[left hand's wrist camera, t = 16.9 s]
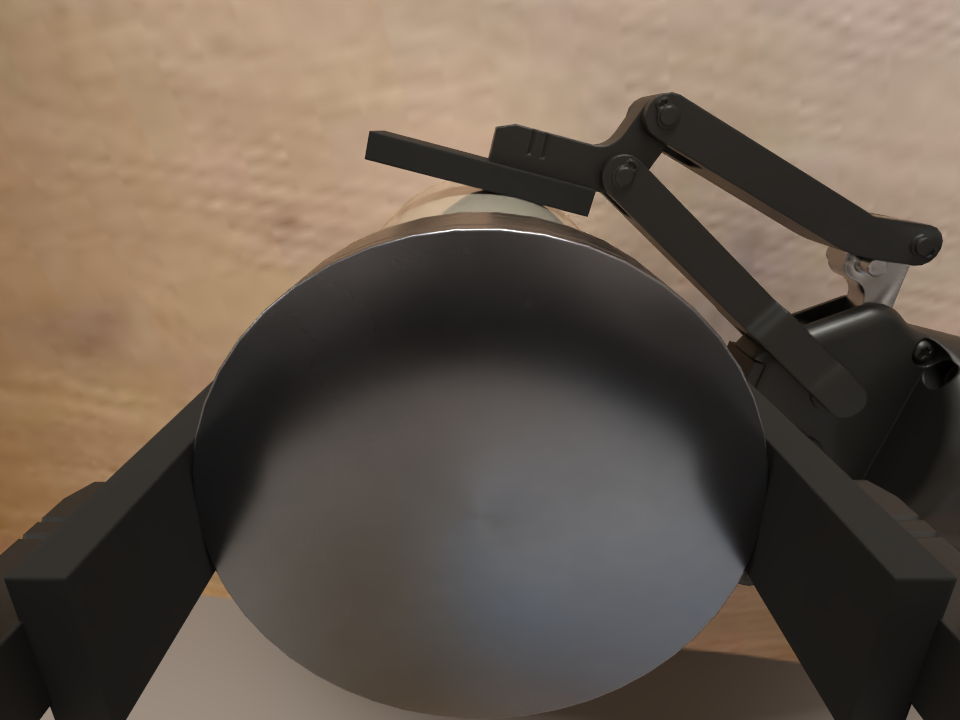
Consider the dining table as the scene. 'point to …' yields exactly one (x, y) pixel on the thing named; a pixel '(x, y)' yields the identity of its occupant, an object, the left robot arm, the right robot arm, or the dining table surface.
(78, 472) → the dining table surface
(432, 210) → the jar
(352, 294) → the lid
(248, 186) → the dining table surface
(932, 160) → the dining table surface
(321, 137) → the dining table surface
